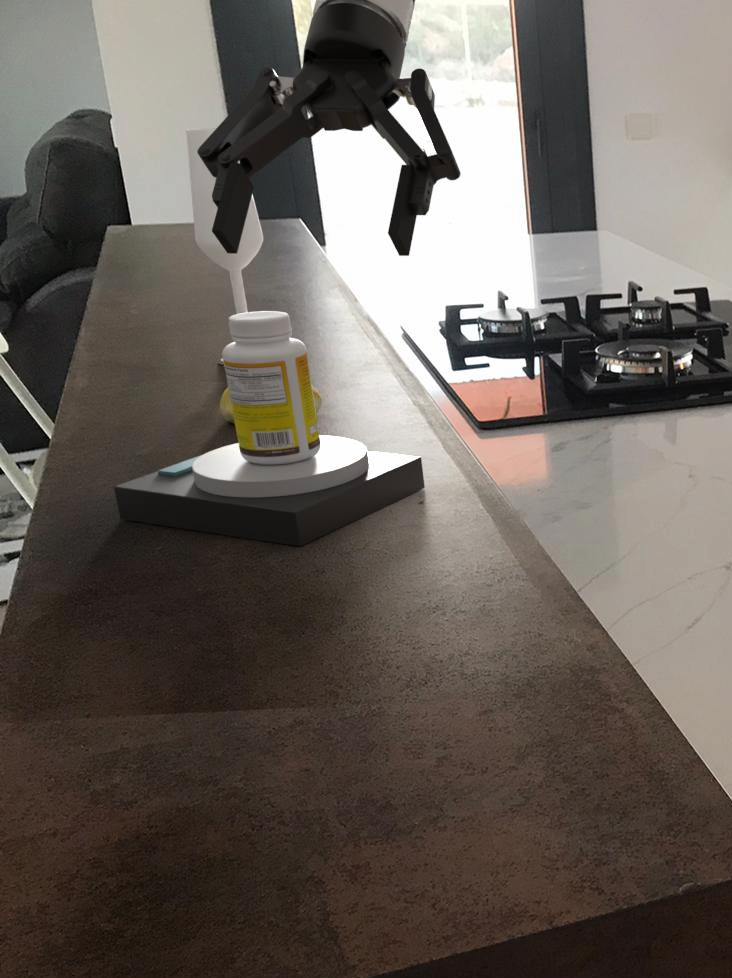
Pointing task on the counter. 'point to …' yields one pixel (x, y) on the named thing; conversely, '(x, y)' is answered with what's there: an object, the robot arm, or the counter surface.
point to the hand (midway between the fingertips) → (311, 244)
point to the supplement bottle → (270, 390)
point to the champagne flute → (206, 215)
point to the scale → (272, 492)
